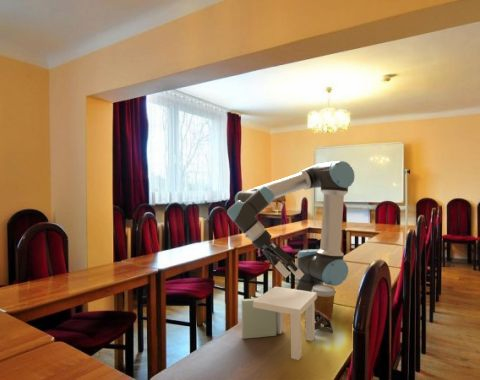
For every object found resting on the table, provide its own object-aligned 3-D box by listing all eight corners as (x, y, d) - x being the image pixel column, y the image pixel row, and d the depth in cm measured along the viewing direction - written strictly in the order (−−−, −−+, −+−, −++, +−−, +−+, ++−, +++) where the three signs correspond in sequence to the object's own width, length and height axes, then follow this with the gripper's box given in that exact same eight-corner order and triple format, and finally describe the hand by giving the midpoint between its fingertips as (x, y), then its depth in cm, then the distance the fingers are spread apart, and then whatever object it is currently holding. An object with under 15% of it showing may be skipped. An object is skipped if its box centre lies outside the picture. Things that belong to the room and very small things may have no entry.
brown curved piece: (337, 338, 115) (327, 320, 113) (313, 347, 117) (302, 330, 115) (330, 316, 127) (321, 300, 125) (308, 325, 128) (299, 309, 127)
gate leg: (277, 332, 118) (276, 296, 118) (278, 335, 116) (278, 298, 116) (242, 336, 116) (241, 299, 116) (243, 338, 114) (242, 301, 114)
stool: (275, 328, 122) (275, 286, 122) (317, 337, 114) (316, 292, 114) (253, 349, 107) (253, 301, 107) (300, 362, 99) (299, 309, 99)
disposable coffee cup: (314, 311, 139) (314, 283, 139) (337, 314, 134) (337, 286, 134) (309, 319, 130) (309, 289, 130) (333, 323, 126) (333, 292, 126)
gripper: (243, 243, 137) (276, 281, 137) (261, 239, 113) (301, 285, 113) (256, 231, 139) (288, 268, 139) (275, 225, 116) (314, 270, 116)
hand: (294, 276), depth 126 cm, fingers open, 13 cm apart
